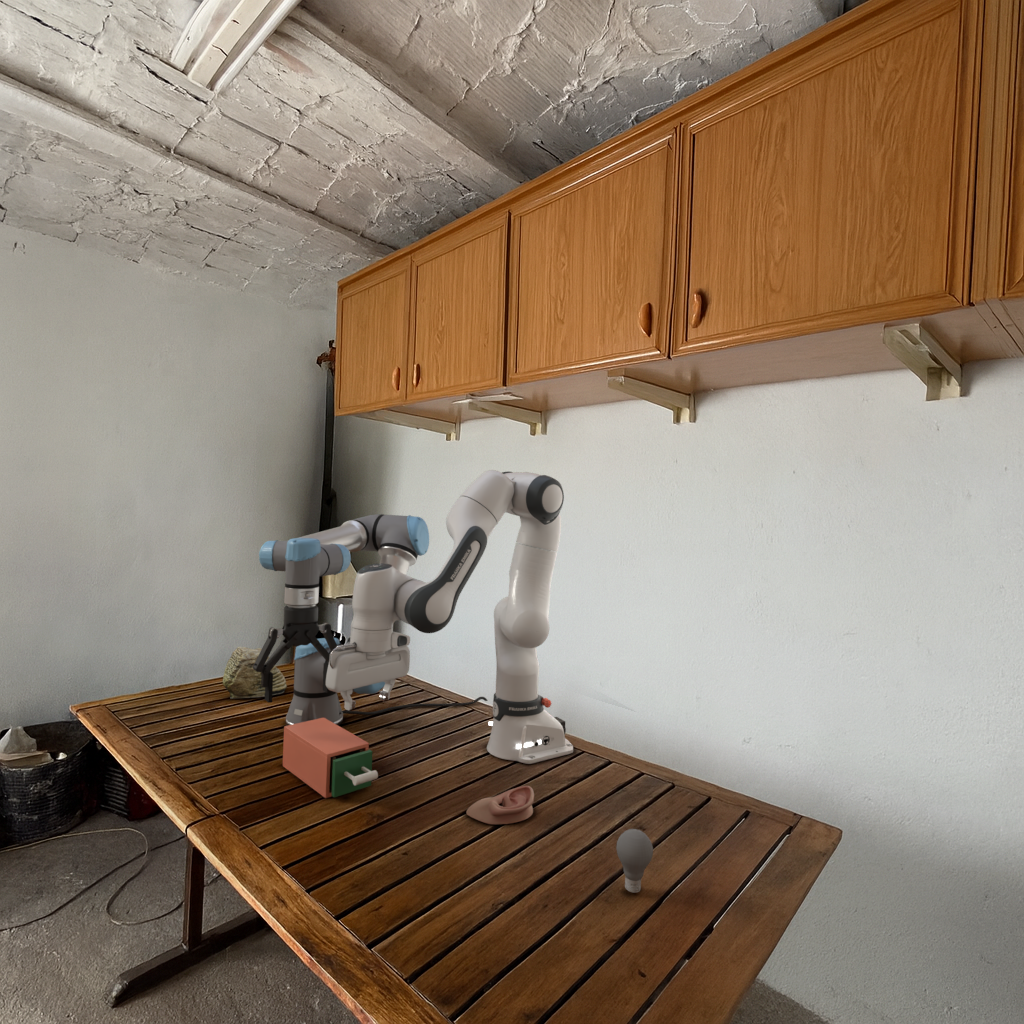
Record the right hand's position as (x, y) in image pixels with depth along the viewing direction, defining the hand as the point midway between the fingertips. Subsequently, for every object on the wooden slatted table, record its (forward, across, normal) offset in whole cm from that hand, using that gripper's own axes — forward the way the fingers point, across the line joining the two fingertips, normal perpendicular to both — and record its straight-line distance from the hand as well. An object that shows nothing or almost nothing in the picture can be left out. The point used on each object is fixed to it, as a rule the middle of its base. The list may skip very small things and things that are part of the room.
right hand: (367, 704), depth 135 cm
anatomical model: (+19, +14, -27) cm, 36 cm away
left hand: (+3, -2, +22) cm, 22 cm away
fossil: (+20, +20, +76) cm, 82 cm away
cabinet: (+20, 0, +14) cm, 24 cm away
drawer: (+19, -1, +8) cm, 20 cm away
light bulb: (+19, +8, -60) cm, 63 cm away
